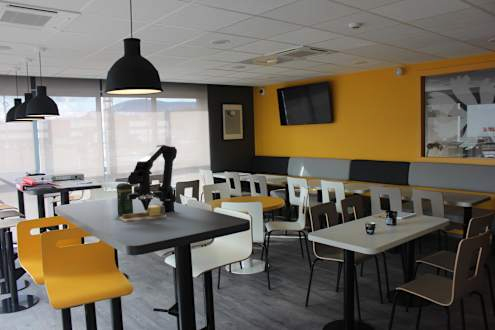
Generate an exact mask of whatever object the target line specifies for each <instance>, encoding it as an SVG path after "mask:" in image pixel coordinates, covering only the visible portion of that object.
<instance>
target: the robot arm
mask: <svg viewBox="0 0 495 330" xmlns="http://www.w3.org/2000/svg"><path fill="white" fill-rule="evenodd" d="M177 153H178V150H177V148H176V146H170V145H165V144H157V145H156V147H155V148H154V149H153V150H152V151H151V152H150V153H149V154H148V155H147V156H145V157H143V158H140V159H139V160H138V161H137V162H136V165H135V167H134V169H133V171H131V172H130V174H129V175H128V177H127V182H128V184H130V185H132V186H134V185H138V186H139V187H138V186H135V187H134V188H133V189H134V191H133V192H132V193H130V194H128V195H127V199H129V200H132V201H133V200H136V199H137V200H139V201H140V202H141V204H142V206H143V209H144V212H147V209H148V206H150V203H151V201H152V200H154V199H153V197H157V198H159V202H162V203H161V205H162V206H165V213H173V212H175V211H176V210H175V202H177V196H176V195H175V194H174V188H173V186H172V177H173V175H172V174H173V165H174V164H173V163H174V161H175V159H176V157H177ZM161 155H162V158H163V160H164V164H163V172H162V173H163V174H162V176H163V177H162V183H161V186H159V187H158V190H157V191H153V192H151V177H150V176H151V175H152V174H153V172H152V171H151V169H152V168H153V166H154V162H155V161H156V160H157V159H158V158H159V157H160V156H161Z"/></svg>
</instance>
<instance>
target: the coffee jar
mask: <svg viewBox="0 0 495 330" xmlns="http://www.w3.org/2000/svg"><path fill="white" fill-rule="evenodd" d="M130 193H133V185H131V184H130V183H127V182H120V183H117V185H116V195H117V197H116V198H117V215H120V216H122V215H124V214H133V213H134V205H133V200H129V199H127V195H128V194H130Z"/></svg>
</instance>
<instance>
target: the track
mask: <svg viewBox="0 0 495 330" xmlns="http://www.w3.org/2000/svg"><path fill="white" fill-rule="evenodd" d="M156 205H157V206H160V207H161V215H154V216H149V212H147V211H143V212H135V213H134V212H133V214H124V215H121V216H120V217H119V220H121V221H122V222H124V223H130V222H138V221H145V220H154V219H161V218H163V219H164V218H167V215H166V212H165V206H162V204H158V203H157V204H156Z"/></svg>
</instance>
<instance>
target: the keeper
mask: <svg viewBox="0 0 495 330" xmlns="http://www.w3.org/2000/svg"><path fill="white" fill-rule="evenodd" d="M146 212H149V216H154V215H161V207H160V206H157V204H155V205H149V206H148V209H147V211H146Z"/></svg>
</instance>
